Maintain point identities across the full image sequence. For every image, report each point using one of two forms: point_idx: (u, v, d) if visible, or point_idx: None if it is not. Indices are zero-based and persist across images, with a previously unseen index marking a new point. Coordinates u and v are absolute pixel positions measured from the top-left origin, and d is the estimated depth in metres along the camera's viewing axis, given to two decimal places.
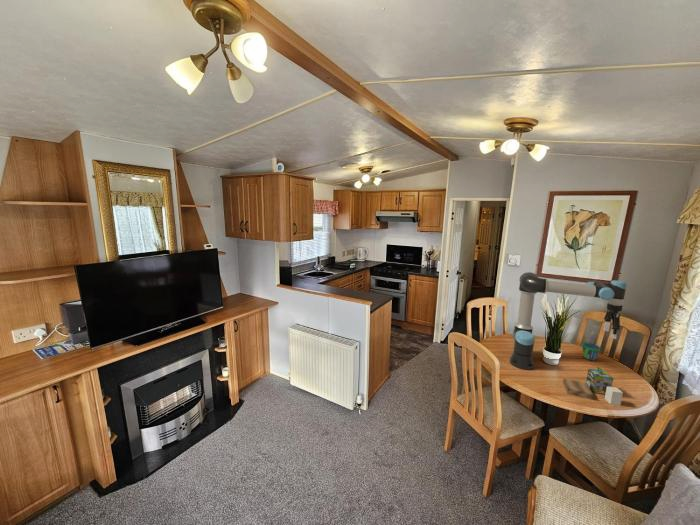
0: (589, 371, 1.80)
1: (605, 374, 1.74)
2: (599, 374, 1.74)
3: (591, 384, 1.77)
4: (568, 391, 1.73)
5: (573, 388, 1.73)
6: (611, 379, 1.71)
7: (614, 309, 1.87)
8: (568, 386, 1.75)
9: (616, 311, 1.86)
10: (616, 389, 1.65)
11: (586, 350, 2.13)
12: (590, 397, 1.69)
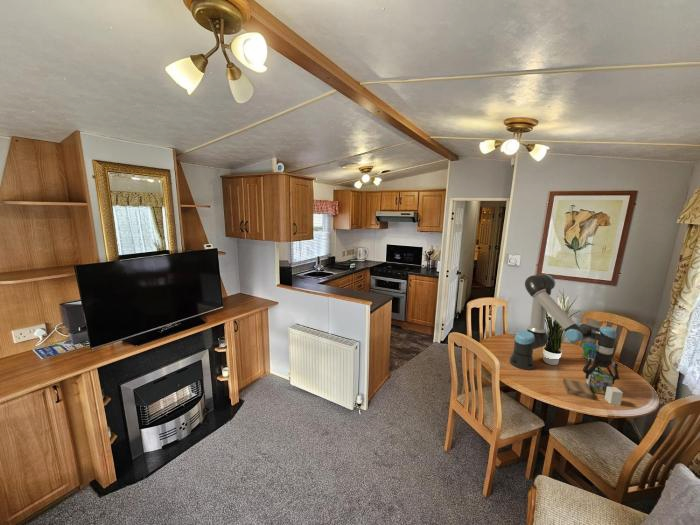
0: None
1: (605, 374, 1.74)
2: (599, 374, 1.74)
3: (591, 384, 1.77)
4: (568, 391, 1.73)
5: (573, 388, 1.73)
6: (611, 379, 1.71)
7: None
8: (568, 386, 1.75)
9: None
10: (616, 389, 1.65)
11: (586, 350, 2.13)
12: (590, 397, 1.69)
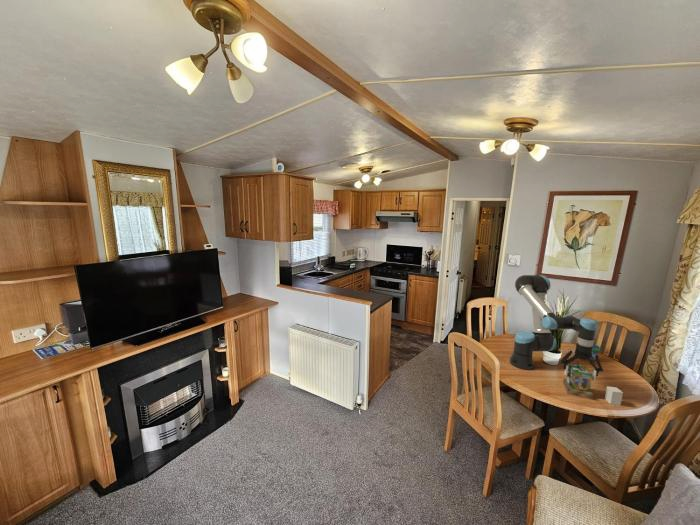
0: (569, 367, 1.78)
1: (584, 370, 1.72)
2: (578, 370, 1.72)
3: (570, 380, 1.75)
4: (568, 391, 1.73)
5: None
6: (590, 375, 1.69)
7: (576, 346, 1.74)
8: (568, 386, 1.75)
9: (576, 349, 1.73)
10: (616, 389, 1.65)
11: None
12: (590, 397, 1.69)
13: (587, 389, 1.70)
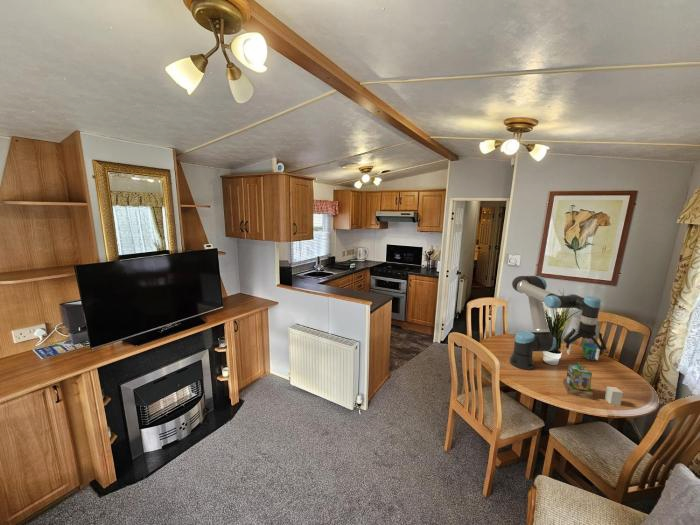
0: (569, 367, 1.78)
1: (584, 369, 1.72)
2: (578, 369, 1.72)
3: (571, 379, 1.74)
4: (568, 391, 1.73)
5: None
6: (590, 374, 1.69)
7: (579, 325, 1.72)
8: (568, 386, 1.75)
9: (579, 328, 1.71)
10: (616, 389, 1.65)
11: (586, 350, 2.13)
12: (590, 397, 1.69)
13: (587, 388, 1.70)
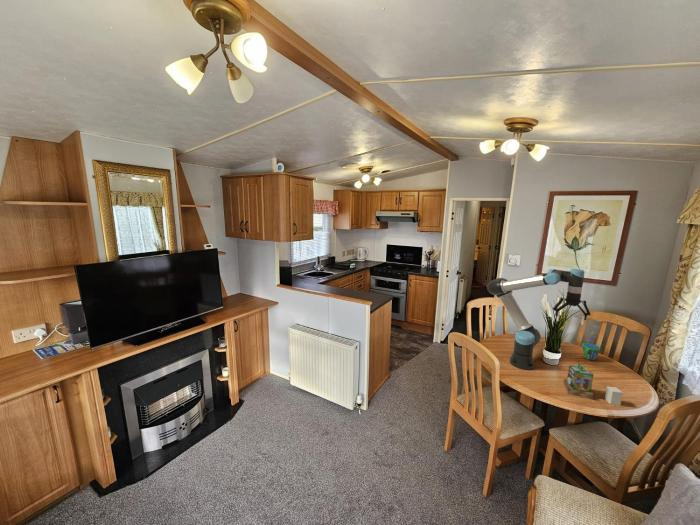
0: (570, 368, 1.77)
1: (585, 370, 1.71)
2: (579, 371, 1.71)
3: (572, 381, 1.74)
4: (568, 391, 1.73)
5: None
6: (591, 376, 1.68)
7: None
8: (568, 386, 1.75)
9: (566, 297, 1.93)
10: (616, 389, 1.65)
11: (586, 350, 2.13)
12: (590, 397, 1.69)
13: (588, 390, 1.70)
